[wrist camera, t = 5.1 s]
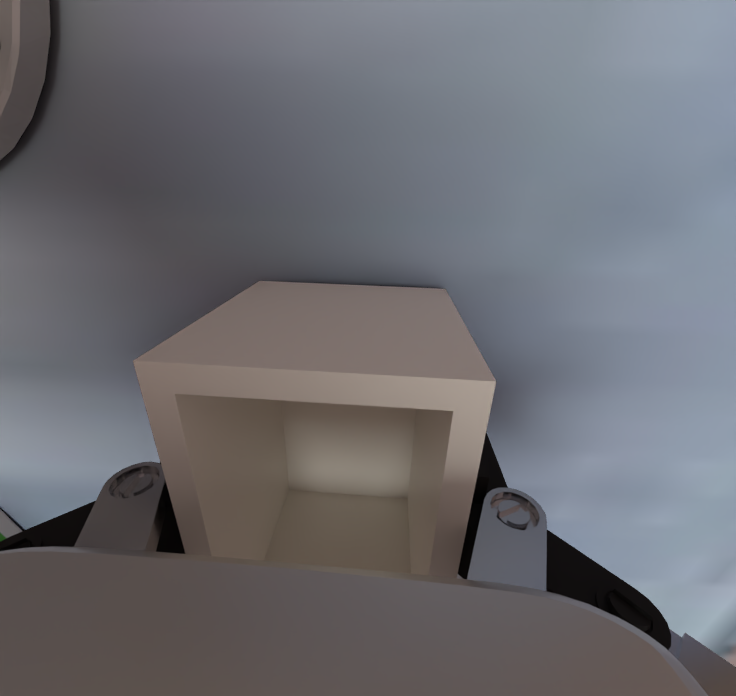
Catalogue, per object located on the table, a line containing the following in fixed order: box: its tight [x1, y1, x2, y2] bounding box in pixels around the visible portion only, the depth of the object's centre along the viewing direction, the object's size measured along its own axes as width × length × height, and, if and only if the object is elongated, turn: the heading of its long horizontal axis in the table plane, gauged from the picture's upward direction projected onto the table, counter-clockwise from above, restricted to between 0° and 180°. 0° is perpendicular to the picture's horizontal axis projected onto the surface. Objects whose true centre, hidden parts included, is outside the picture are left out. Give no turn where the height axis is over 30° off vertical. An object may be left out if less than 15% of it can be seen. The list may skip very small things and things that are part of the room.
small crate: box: [133, 281, 496, 578], centre depth 10 cm, size 9×6×6 cm, turn 178°
